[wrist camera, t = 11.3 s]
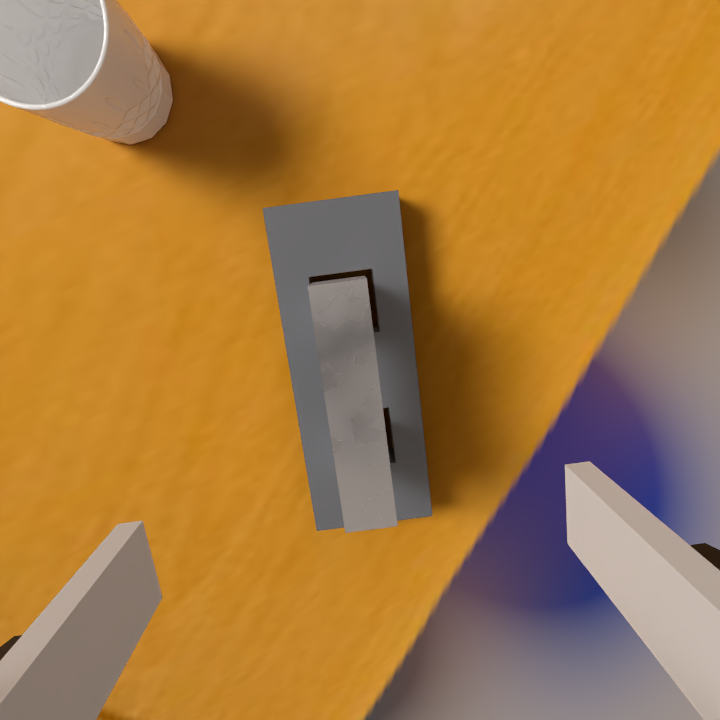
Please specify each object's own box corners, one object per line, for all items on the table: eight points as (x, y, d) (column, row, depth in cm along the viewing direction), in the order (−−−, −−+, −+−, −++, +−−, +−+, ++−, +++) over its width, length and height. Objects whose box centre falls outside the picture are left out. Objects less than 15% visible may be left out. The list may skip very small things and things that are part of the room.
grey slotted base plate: (319, 510, 39) (316, 530, 36) (270, 212, 33) (262, 208, 30) (425, 496, 39) (432, 515, 36) (393, 195, 33) (398, 190, 30)
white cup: (81, 5, 30) (-46, -115, 20) (197, 57, 31) (128, -35, 21) (51, 125, 32) (-80, 68, 22) (163, 172, 33) (83, 136, 23)
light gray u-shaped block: (346, 450, 37) (345, 532, 26) (321, 276, 34) (307, 286, 23) (382, 445, 37) (397, 525, 26) (360, 271, 34) (366, 278, 23)
